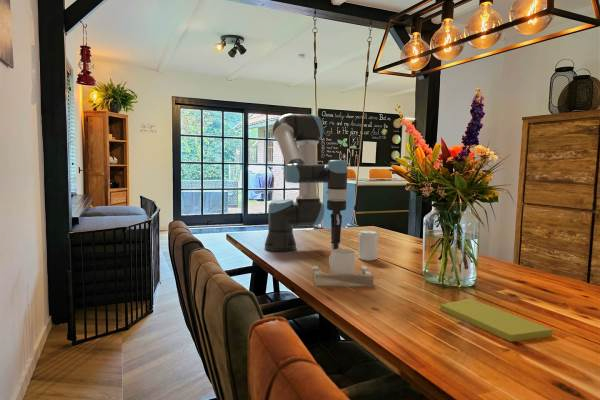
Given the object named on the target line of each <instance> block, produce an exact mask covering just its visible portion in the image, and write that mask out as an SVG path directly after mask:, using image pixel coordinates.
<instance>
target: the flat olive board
mask: <svg viewBox="0 0 600 400" xmlns="http://www.w3.org/2000/svg"><path fill="white" fill-rule="evenodd" d="M439 305H440V307H439V310H440V311H442V312H444V313H445V314H448V315H449V316H452V317H455V318H457V319H459V320H462V321H464V322H466V323H468V324H470V325H472V326H474V327H477V328H479V329H482V330H484V331H486V332H489V333H490V334H493V335H495V336H496V337H499V338H501V339H503V340H505V341H508V342H510V343H511V342H518V341H526V340H533V339H534V340H535V339H541V338H546V337H547V338H548V337H550V338H551V337H553V328H550V327H546V326H543V325H541V324H539V323H536V322H534V321H531V320H528V319H525V318H523V317H520V316H518V315H515V314H512V313H509V312H507V311H504V310H502V309H500V308H497V307H494V306H491V305H489V304H486V303H483V302H481V301H478V300H476V299H473V298H465V299H462V300H455V301H452V302H451V301H450V302H446V303H440V304H439Z"/></svg>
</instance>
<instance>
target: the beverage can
mask: <svg viewBox="0 0 600 400" xmlns="http://www.w3.org/2000/svg"><path fill="white" fill-rule="evenodd" d="M359 231H360V232H359V234H358V251H357V252H358V253H357V255H358V256H357V257H358V258H359V260H361V261H366V262H371V261H375V260H377V259H378V248H379V247H378V246H379V245H378V244H379V235H378V232H377V231H376V230H370V229H369V230H365V229H364V230H359Z"/></svg>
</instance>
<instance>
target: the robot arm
mask: <svg viewBox="0 0 600 400" xmlns="http://www.w3.org/2000/svg"><path fill="white" fill-rule="evenodd" d="M323 125H324V124H323V121H322V119H321V117H320V116H319V115H316V114H311V113H310V114H305V113H302V114H301V113H285V114H283V115H281V116H280V117H278V118H277V119H276V120H275V122H274V123H273V127H272V134H273V135H272V136H273V138H274V140H275V141H276V142H277V144H278V146H279V148H280V151H281V154H282V158H283V160H284V162H285V163H284V164H285V165H284V167H283V179H284V181H285V182H286V183H292V184H298V196H297V197H296V198H295V201H294V200H293V199H287V198H286V199H279V200H274V201H271V202H270V203H269V204H268V211H267V213H268V232H267V236H266V239H265V243H264V249H265V250H266V251H269V252H278V253H279V252H281V253H282V252H291V251H295V250H297V242H296V239H295V236H294V232H293V231H294V229H293V228H294V227H313V226H314V227H315V226H319V225H321V223H322V222H323V220H324V217H325V216H324V215H325V204H324V203H323V202H322V200H321V198H320V197H319V195H318V193H317V184H318V183H325V184H326V183H327V186H326V187H327V190H326V191H325V194H327V195H326V197H327V198H326V199H327V201H326V209H327V210H328V211H332V212H331V213H330V223H331V226H330V227H331V228H330V230H331V233H330V236H331V237H330V239H331V241H330V244H331V251H332V250H334V249H340V243H341V235H342V234H341V231H342V223H343V216H342V214H341V212H343V211H345V210H347V196H348V195H347V193H348V188H347V186H348V185H347V184H348V171H349V170H348V169H349V168H348V162H347V160H344V159H343V160H342V159H330V160H328V162H327V163H321V164H320V163H317V145H318V144H319V143H320V140H321V139H322V138H323V136H324V135H323V134H324V126H323Z"/></svg>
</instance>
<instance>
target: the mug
mask: <svg viewBox="0 0 600 400" xmlns="http://www.w3.org/2000/svg"><path fill="white" fill-rule="evenodd" d="M355 257H356V252H355V250H353V249H349V248H339V249H334V250H332V249H331V253H330V255H329V257H328V265H329V268H330V274H355V267H356V266H355V264H356V258H355Z"/></svg>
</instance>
